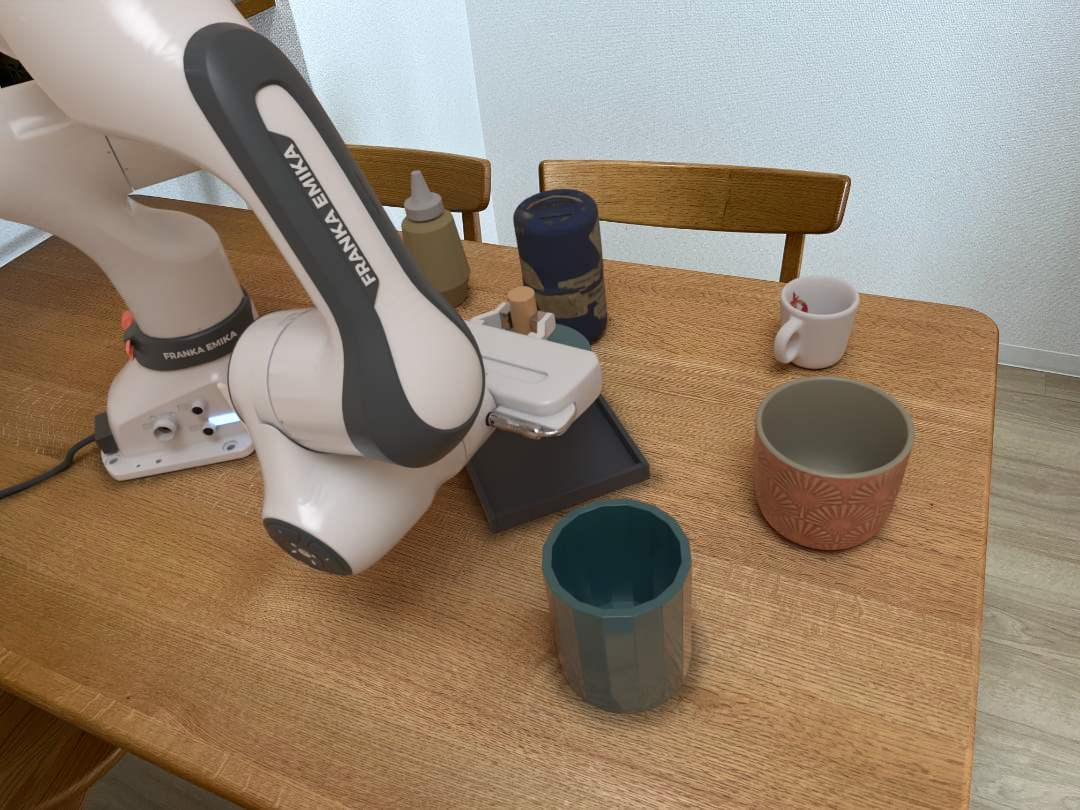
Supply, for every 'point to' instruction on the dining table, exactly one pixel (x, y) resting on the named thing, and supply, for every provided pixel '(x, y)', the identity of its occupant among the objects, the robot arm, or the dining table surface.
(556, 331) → the teal lid with handle
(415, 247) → the squeeze bottle
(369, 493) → the robot arm
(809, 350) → the cup
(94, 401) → the dining table surface
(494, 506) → the tray
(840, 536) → the planter
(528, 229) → the canister
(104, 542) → the dining table surface
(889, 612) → the dining table surface
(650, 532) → the faceted pencil holder
